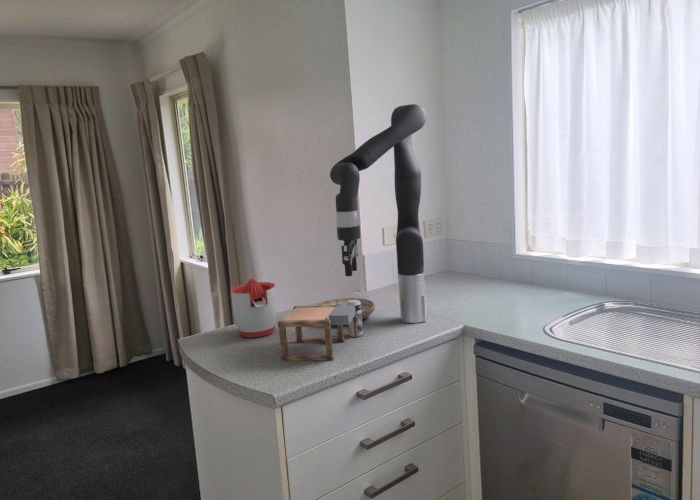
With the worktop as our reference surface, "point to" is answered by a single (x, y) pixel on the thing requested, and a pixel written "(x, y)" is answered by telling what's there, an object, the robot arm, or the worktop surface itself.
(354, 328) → the beer can
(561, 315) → the worktop surface
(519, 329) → the worktop surface
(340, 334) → the frame
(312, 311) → the trapdoor
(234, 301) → the citrus juicer
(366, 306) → the ceramic bowl
